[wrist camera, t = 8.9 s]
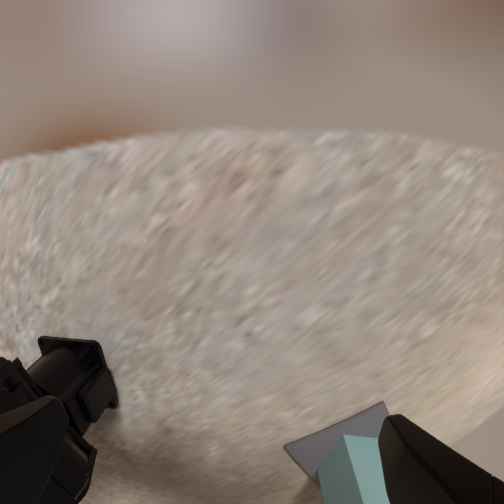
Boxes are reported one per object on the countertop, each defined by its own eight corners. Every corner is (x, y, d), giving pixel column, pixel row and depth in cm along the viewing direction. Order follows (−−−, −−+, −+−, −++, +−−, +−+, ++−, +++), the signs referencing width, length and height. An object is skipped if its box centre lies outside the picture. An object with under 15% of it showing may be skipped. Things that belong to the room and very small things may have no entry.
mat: (322, 488, 24) (323, 491, 24) (284, 445, 23) (285, 448, 22) (404, 452, 23) (405, 454, 23) (383, 400, 22) (384, 403, 21)
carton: (316, 468, 23) (334, 574, 11) (342, 433, 22) (375, 549, 10) (358, 472, 23) (385, 567, 12) (386, 438, 22) (428, 539, 11)
